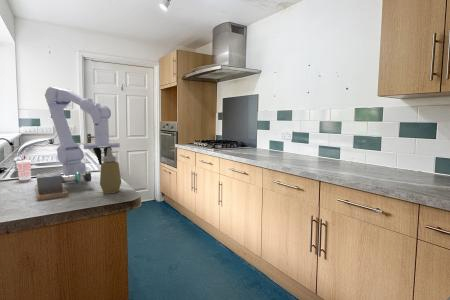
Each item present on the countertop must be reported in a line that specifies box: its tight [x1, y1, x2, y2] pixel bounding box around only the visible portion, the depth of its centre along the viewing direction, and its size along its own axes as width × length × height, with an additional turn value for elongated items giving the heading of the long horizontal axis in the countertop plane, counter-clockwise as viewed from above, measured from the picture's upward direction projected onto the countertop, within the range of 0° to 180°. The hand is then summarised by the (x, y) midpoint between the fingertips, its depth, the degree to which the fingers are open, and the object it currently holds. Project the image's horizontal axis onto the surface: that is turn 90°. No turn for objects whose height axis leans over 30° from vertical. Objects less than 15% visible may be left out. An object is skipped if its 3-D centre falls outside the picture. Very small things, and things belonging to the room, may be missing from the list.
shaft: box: [62, 171, 92, 185], centre depth 113 cm, size 15×5×5 cm, turn 127°
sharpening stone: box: [35, 172, 69, 202], centre depth 109 cm, size 10×22×7 cm, turn 37°
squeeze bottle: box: [99, 148, 122, 194], centre depth 109 cm, size 8×8×18 cm
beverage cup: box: [15, 150, 32, 181], centre depth 133 cm, size 6×6×14 cm
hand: (103, 164), depth 120 cm, fingers closed
